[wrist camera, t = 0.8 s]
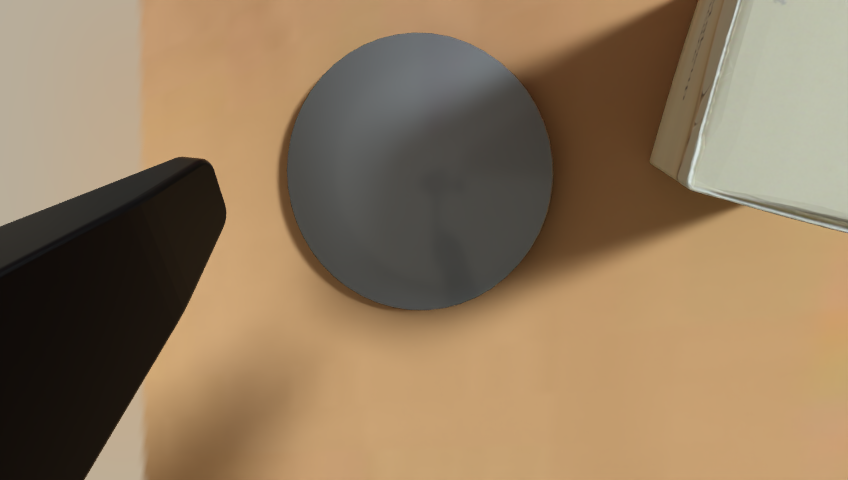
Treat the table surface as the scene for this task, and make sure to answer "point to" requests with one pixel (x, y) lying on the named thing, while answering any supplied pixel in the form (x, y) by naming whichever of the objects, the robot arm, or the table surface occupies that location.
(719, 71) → the skincare box
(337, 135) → the charcoal coaster
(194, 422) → the table surface
